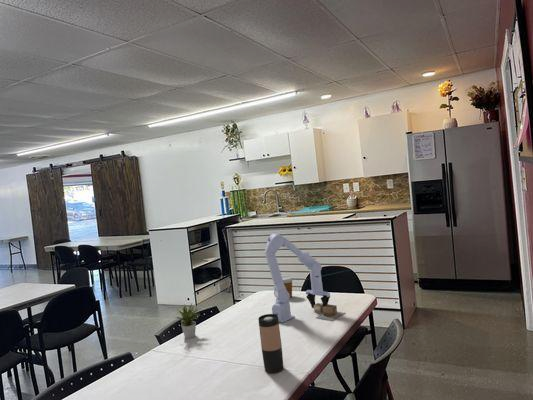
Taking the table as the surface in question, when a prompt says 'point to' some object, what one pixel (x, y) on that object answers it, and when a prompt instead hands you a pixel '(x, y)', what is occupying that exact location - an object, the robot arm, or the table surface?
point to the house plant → (188, 321)
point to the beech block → (318, 308)
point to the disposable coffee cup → (288, 284)
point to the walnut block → (330, 310)
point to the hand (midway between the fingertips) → (319, 308)
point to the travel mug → (271, 343)
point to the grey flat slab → (330, 317)
